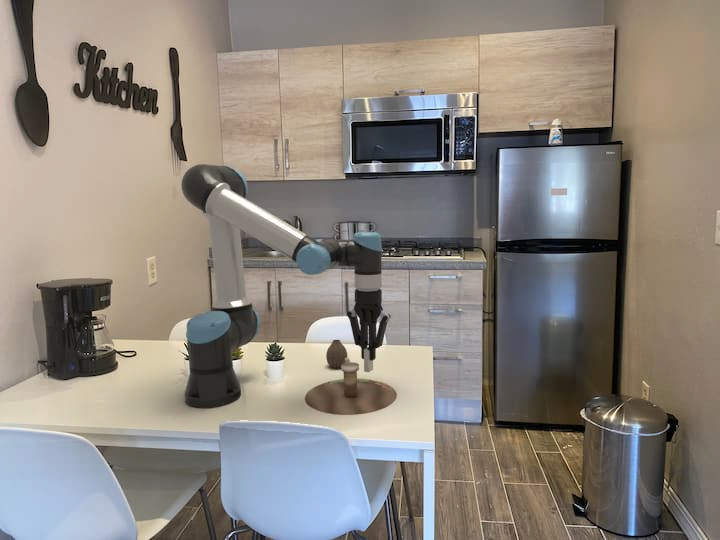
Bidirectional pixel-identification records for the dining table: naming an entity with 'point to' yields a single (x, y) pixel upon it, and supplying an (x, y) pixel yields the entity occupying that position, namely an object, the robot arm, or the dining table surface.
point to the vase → (336, 354)
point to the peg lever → (350, 377)
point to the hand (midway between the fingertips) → (368, 370)
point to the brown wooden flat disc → (335, 402)
